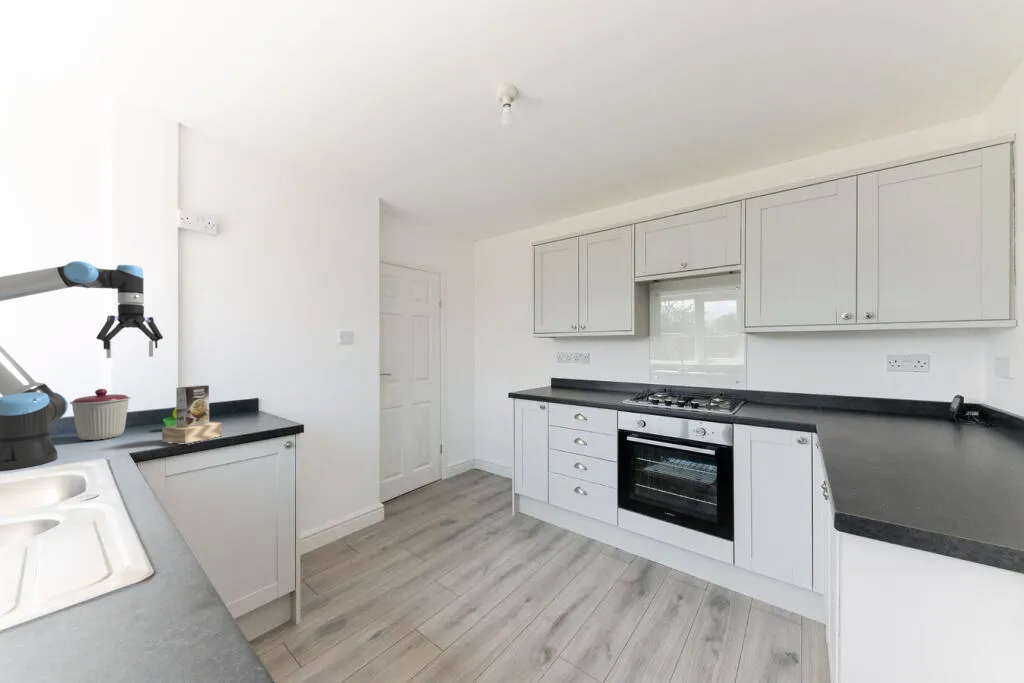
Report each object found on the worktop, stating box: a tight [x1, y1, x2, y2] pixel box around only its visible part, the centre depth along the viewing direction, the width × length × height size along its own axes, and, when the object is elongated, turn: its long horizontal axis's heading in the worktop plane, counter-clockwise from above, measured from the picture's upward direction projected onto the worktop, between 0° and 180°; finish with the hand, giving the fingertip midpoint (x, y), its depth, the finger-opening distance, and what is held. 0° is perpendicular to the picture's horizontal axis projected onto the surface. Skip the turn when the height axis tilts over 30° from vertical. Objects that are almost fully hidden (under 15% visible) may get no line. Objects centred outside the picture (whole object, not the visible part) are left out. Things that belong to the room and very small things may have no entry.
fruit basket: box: [163, 407, 176, 427], centre depth 186 cm, size 11×9×11 cm
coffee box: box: [175, 385, 210, 427], centre depth 165 cm, size 9×6×16 cm
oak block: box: [161, 421, 223, 444], centre depth 164 cm, size 14×14×6 cm
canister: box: [69, 388, 132, 441], centre depth 169 cm, size 18×18×21 cm
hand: (131, 357), depth 158 cm, fingers open, 13 cm apart
